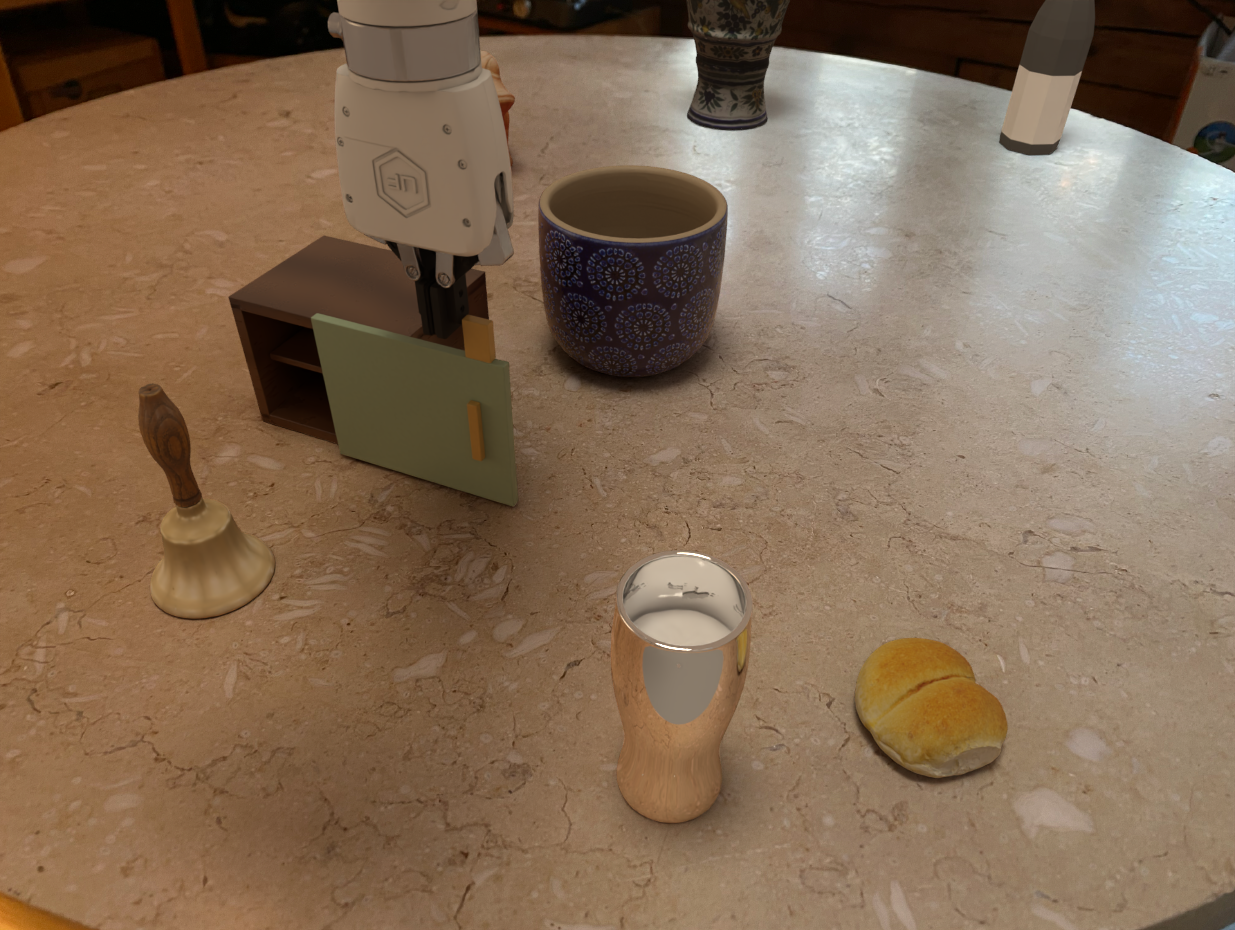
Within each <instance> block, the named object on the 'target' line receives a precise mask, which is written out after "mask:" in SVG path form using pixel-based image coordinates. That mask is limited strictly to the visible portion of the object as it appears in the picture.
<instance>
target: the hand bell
mask: <svg viewBox="0 0 1235 930" xmlns="http://www.w3.org/2000/svg"><path fill="white" fill-rule="evenodd" d="M137 392H138V401H139V402H138V403H139V405H138V415H137V416H138V427H139V432H140V435H141V439H142V441H143V443H144V445H145V446H146V449H147V451H148V453H149V454H150V456H151V457H152V458H153V460H154V461H155V462H156V464H157V465H158V466H159V467H160V468H161V469H162V471H163V472H164V474H165V477H166V479H167V482H168V485H169V489H170V492H171V495H172V500H173V503H174V505H175V506H174V507H173V508H171V509H169V510H168V512H167V513H165V515H164V517H163V518H162V519H161V522H160V527H159V532H160V535H161V540H162V547H163V556H162V558H161V559H160V560H159V562H158V563H157V564H156V566H155V567H154V570H153V571H152V575H151V578H150V581H149V594H150V597H151V599H152V602H154V604H155V605H156V606H157V607H158V608H159V609H160V610H162V611H163V612H164V613H166V614H169V615H171V616H175V617H176V618H182V619H196V620H197V619H206V618H213V617H219V616H222V615H225V614H227V613H231V612H234V611H236V610H238V609H240V608H242V607H243V606H245V605H247V604H248V603H250V602H251V601H253V600H254V599H255V598H256V597H258V596H259V595H260V594H261V593H262V592H264V590H265V589H266V587H268V585H270V583H271V580H272V578H273V576H274V574H275V570H276V557H275V554H274V552H273V550H272V549H271V548H270V546H269V545H268V544H267V543H266V542H265V541H264V540H262V539H261V538H259V537H258V536H256V535H254V534H251V533H248V532H245V531H242V529H241V528H240V527H239V526H238V524H237V522H236V520H235V518H234V517H233V515H232V513H231V510H230V509H229V508H228V506H227V505H226V504H224V503H223V502H221V501H219V500H217V499H213V498H203V495H202V491H201V489H200V487H199V485H198V482H197V479H196V477H195V475H194V472H193V469H192V465H191V452H192V451H191V448H192V445H191V439H190V433H189V430H188V425H187V424H186V421H185V418H184V416H183V414H182V412H181V411H180V409H179V408H178V406H177V405H176V403H174V402H173V401H172V400H171V399H170V397H169V396H168V394H167V393H166V392H165V391H164V389H163V387H162V386H161V385H160V384H159V383H147V384H145V385H144V386H141V387H139V390H138V391H137Z"/></svg>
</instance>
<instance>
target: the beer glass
mask: <svg viewBox="0 0 1235 930" xmlns="http://www.w3.org/2000/svg"><path fill="white" fill-rule="evenodd" d="M753 608H754V601H753V595H752V591H751V589H750V587H749V585H748V583H747V581H746V580H745V578H744V577H743V576H742V575H741V574H740V572H739V571H737V570H736V569H735V568H734V567H733V566H731V565H730V564H729V563H727V562H725V561H723V560H722V559H720V558H718V557H716V556H714V555H711V554H707V553H705V552H700V551H696V550H687V549H673V550H672V549H671V550H664V551H659V552H656V553H653V554H650V555H647V556H645V557H643V558H641V559H639V560H638V561H636V562H635V563H633V564H632V565H631V566H630V567H628V569H627V570H626V571H625V572H624V573H623V575H622V576H621V577H620V579H619V582H618V584H617V586H616V590H615V606H614V611H613V612H614V613H613V619H612V627H611V636H610V637H611V638H610V652H609V653H610V676H611V681H612V688H613V694H614V699H615V701H616V705H617V710H618V714H619V717H620V721H621V724H622V729H623V733H624V735H623V736H624V738H623V739H624V740H623V744H622V747H621V750H620V752H619V756H618V759H617V764H616V770H615V771H616V775H615V776H616V782H617V786H618V788H619V791H620V794H621V795H622V798H623V799H624V800H625V802H626V804H628V805H629V806H630V807H631V808H632V809H633V810H634V811H635V812H636V813H638V814H640V815H641V816H642V817H645V818H646V819H649V820H652V821H655V822H659V823H664V824H665V823H666V824H678V823H679V824H680V823H685V822H688V821H691V820H693V819H696V818H698V817H700V816H702V815H703V814H705V813H706V812H707V811H708V810H709V809H710V808H711V807H712V806H713V804H714V803H715V802H716V800H717V799H718V797H719V795H720V792H721V789H722V785H723V784H722V783H723V769H722V762H721V756H720V748H721V743H722V741H723V739H724V736H725V734H726V732H727V729H728V727H730V724H731V722H732V720H733V716H734V714H735V712H736V710H737V707H738V705H739V702H740V699H741V697H742V694H743V692H744V688H745V684H746V679H747V674H748V669H749V663H750V654H751V642H752V615H753Z"/></svg>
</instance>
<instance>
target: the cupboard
mask: <svg viewBox="0 0 1235 930" xmlns="http://www.w3.org/2000/svg"><path fill="white" fill-rule="evenodd" d="M466 284H467V294H468V305H469V314H468V315H472V316H476V317H480V318H484V319H488V320H490V315H489V303H488V301H489V300H488V290H487V277H486V271H484V270H480V269H476V268H471V269H470V270H469V271H468V272H467V273H466ZM227 297H228V300H229V305H230V308H231V312H232V316H233V319H234V322H235V326H236V329H237V334H238V337H239V341H240V345H241V348H242V351H243V355H244V358H245V362H246V366H247V369H248V373H249V377H250V380H251V383H252V387H253V392H254V395H255V398H256V402H257V405H258V409H259V412H260V416H261V419H262V422H264V423H268V424H270V425H274V426H278V427H281V428H284V429H288V430H290V431H294V432H297V433H301V434H304V435H308V436H310V437H314V438H317V439H320V440H324V441H327V442H331V443H334V444H337V445H338V441H337V436H336V432H335V427H334V423H333V418H332V413H331V409H330V404H329V400H328V395H327V390H326V386H325V381H324V377H323V372H322V367H321V363H320V358H319V354H318V349H317V345H316V340H315V335H314V331H313V326H312V322H311V317H312V316H314V315H315V314H316V313H319V314H323V315H327V316H331V317H334V318H338V319H342V320H346V321H350V322H354V323H358V324H362V325H366V326H370V327H374V328H378V329H381V330H385V331H389V332H393V333H397V334H401V335H405V336H409V337H413V338H417V339H421V340H425V341H428V342H432V343H436V344H440V345H444V346H448V347H452V348H456V349H460V350H464V351H465V346H464V336H463V327H462V325H461V326H460V327H459V328H458V329H457V330H456V331H454V332H453V333H452V334H451V335H450V336H449V337H448V338H447V339H441V338H438V337H437V335H436V334H435V335H433V336H429V335H426V334H424V333H423V328H422V320H421V315H420V313H419V309H418V302H417V295H416V287H415V281H413V280H411V279H409V278H408V277H407V276H406V274H405V272H404V268H403V264H402V261H401V260H400V259H399V258H398V257H397V256H396V255H395V254H394V253H393V251H392V250H391V249H386V248H382V247H377V246H373V245H368V244H364V243H359V242H355V241H351V240H348V239H347V240H346V239H342V238H337V237H333V236H329V235H322V236H320V237H319V238H317V239H316V240H314V241H313V242H310V243H309V244H308V245H307V246H305V247H304V248H302V249H300V250H299V251H297V252H296V253H294V254H292V255H291V256H289V257H288V258H286V259H284V260H283V261H281V262H279V263H278V264H277V265H275V266H274V267H272V268H271V269H269V270H268V271H266V272H264V273H263V274H261V275H260V276H257V278H255V279H253V280H252V281H251V282H249V283H247V284H246V285H244V286H242V287H240V289H238V290H236V291H235V292H233V293H231V294H230V295H229V296H227Z"/></svg>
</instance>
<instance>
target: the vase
mask: <svg viewBox="0 0 1235 930" xmlns="http://www.w3.org/2000/svg"><path fill="white" fill-rule="evenodd" d="M685 2H686V8H687V16H688V22H687V27H688V29H689V30H690V32H691V34H692V36H693V41H694V47H695V53H696V56H695V66H696V68H697V82H696V87H695V90H694V93H693V96H692V99H691V102H690V105H689V108H688V110H687V112H686V118H687V120H689V121H690V122H691V123H693V124H695V125H697V126H699V127H703V128H706V129H713V130H718V131H719V130H720V131H721V130H722V131H744V130H751V129H756V128H760V127H762V126H763V125H765V124H766V123H767V122H768V120H769V119H768V114H767V107H766V96H765V80H766V75H767V71H768V69H769V66H770V57H771V54H772V50H773V47H774V45H775V42H776V40H777V38H778V36H779V35H781V33H782V30H783V29H782V28H783V26H782V25H783V21H784V18H785V15H786V13H787V9H788V6H789V4H790V2H791V0H685Z"/></svg>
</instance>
